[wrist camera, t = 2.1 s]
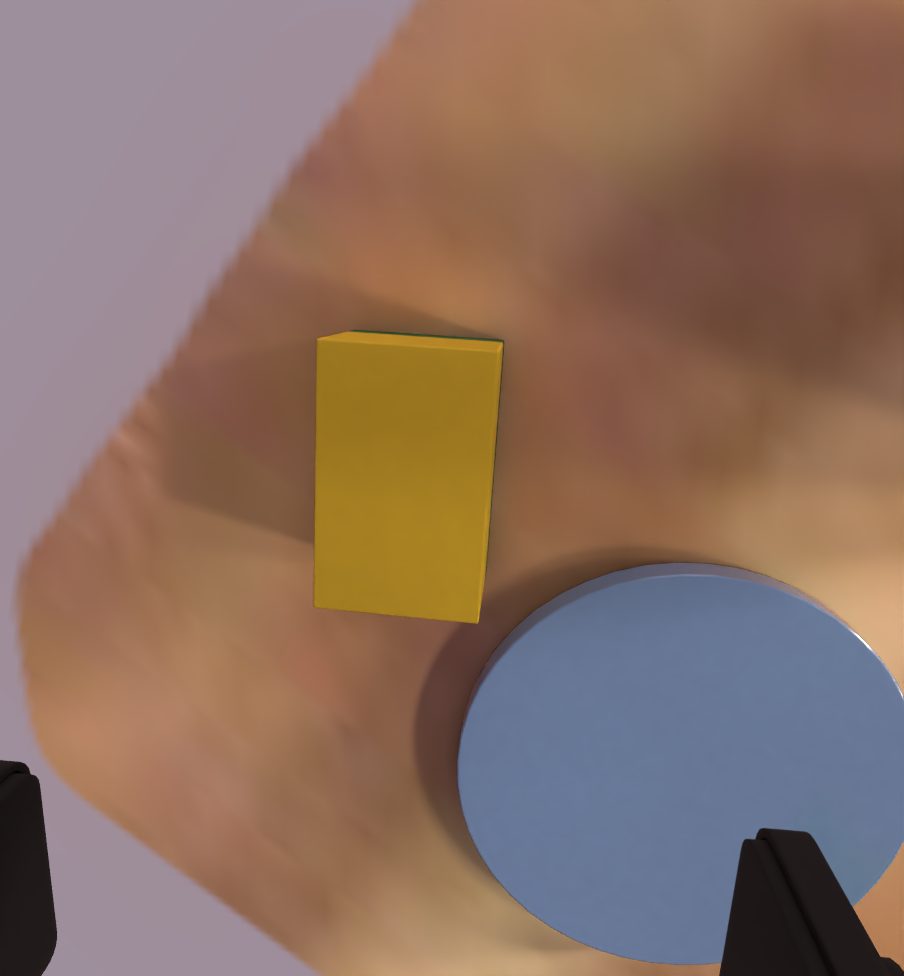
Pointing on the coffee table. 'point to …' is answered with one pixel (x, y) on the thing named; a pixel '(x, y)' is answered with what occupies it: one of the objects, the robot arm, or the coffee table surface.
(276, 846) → the coffee table surface
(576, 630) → the plate
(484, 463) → the sponge
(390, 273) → the coffee table surface
